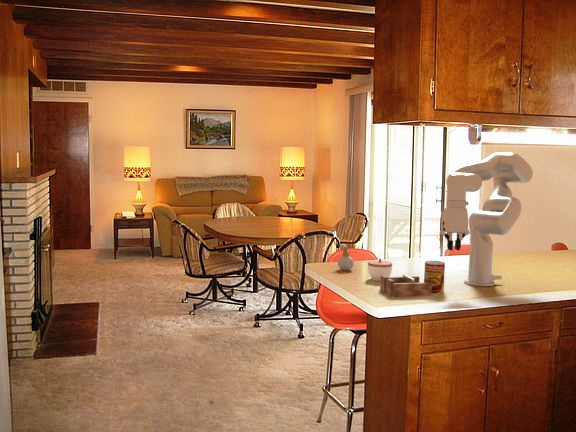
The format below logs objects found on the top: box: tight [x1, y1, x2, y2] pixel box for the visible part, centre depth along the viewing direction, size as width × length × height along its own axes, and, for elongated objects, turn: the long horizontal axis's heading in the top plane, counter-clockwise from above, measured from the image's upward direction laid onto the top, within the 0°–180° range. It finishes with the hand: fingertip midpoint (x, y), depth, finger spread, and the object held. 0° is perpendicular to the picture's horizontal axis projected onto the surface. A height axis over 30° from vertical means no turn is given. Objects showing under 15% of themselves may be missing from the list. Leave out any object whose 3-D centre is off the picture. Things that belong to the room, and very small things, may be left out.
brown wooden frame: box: [379, 275, 433, 298], centre depth 247 cm, size 17×14×6 cm
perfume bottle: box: [337, 243, 355, 271], centre depth 292 cm, size 8×10×12 cm
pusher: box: [402, 274, 415, 283], centre depth 246 cm, size 10×9×6 cm
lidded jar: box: [367, 258, 393, 282], centre depth 271 cm, size 11×11×9 cm
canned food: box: [423, 260, 446, 295], centre depth 249 cm, size 8×8×12 cm
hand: (453, 249), depth 250 cm, fingers open, 2 cm apart
